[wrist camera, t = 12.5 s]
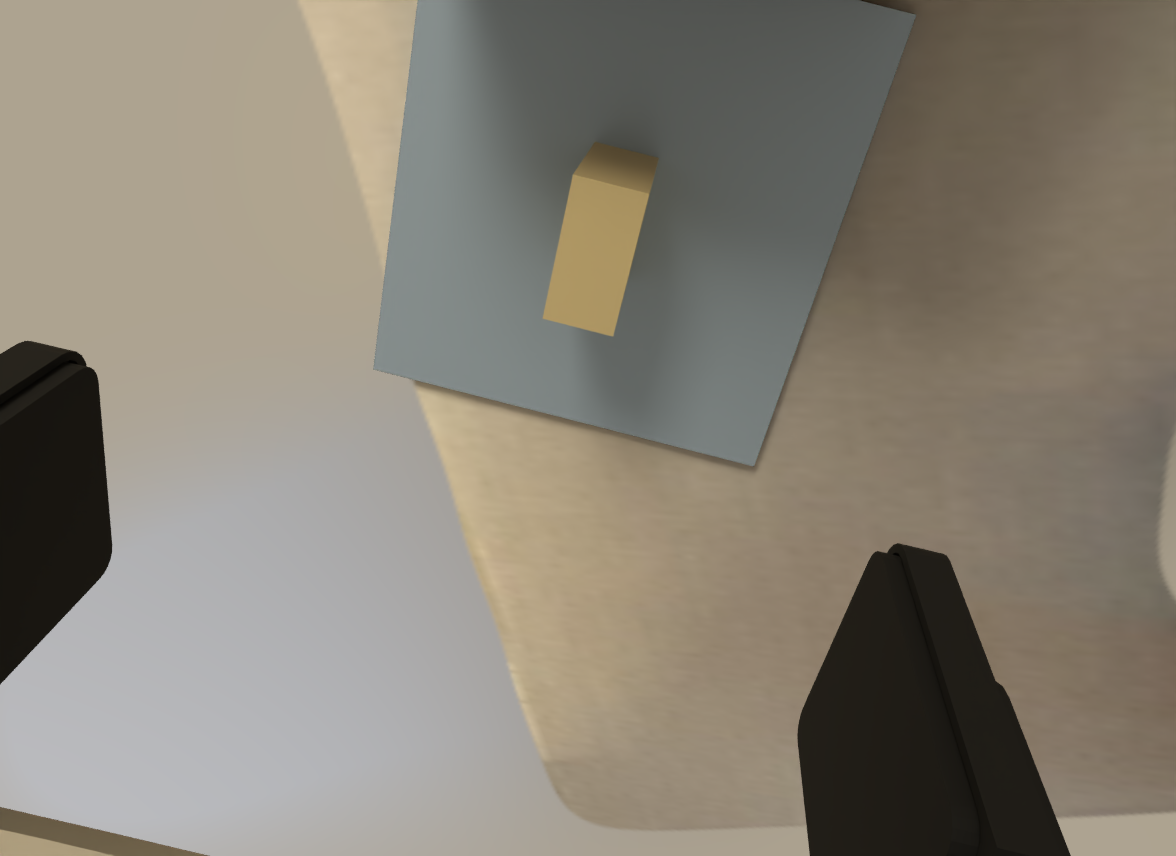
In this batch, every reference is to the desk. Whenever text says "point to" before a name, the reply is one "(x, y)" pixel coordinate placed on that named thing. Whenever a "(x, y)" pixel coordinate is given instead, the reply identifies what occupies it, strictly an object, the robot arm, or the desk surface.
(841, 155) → the lid
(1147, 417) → the desk surface
